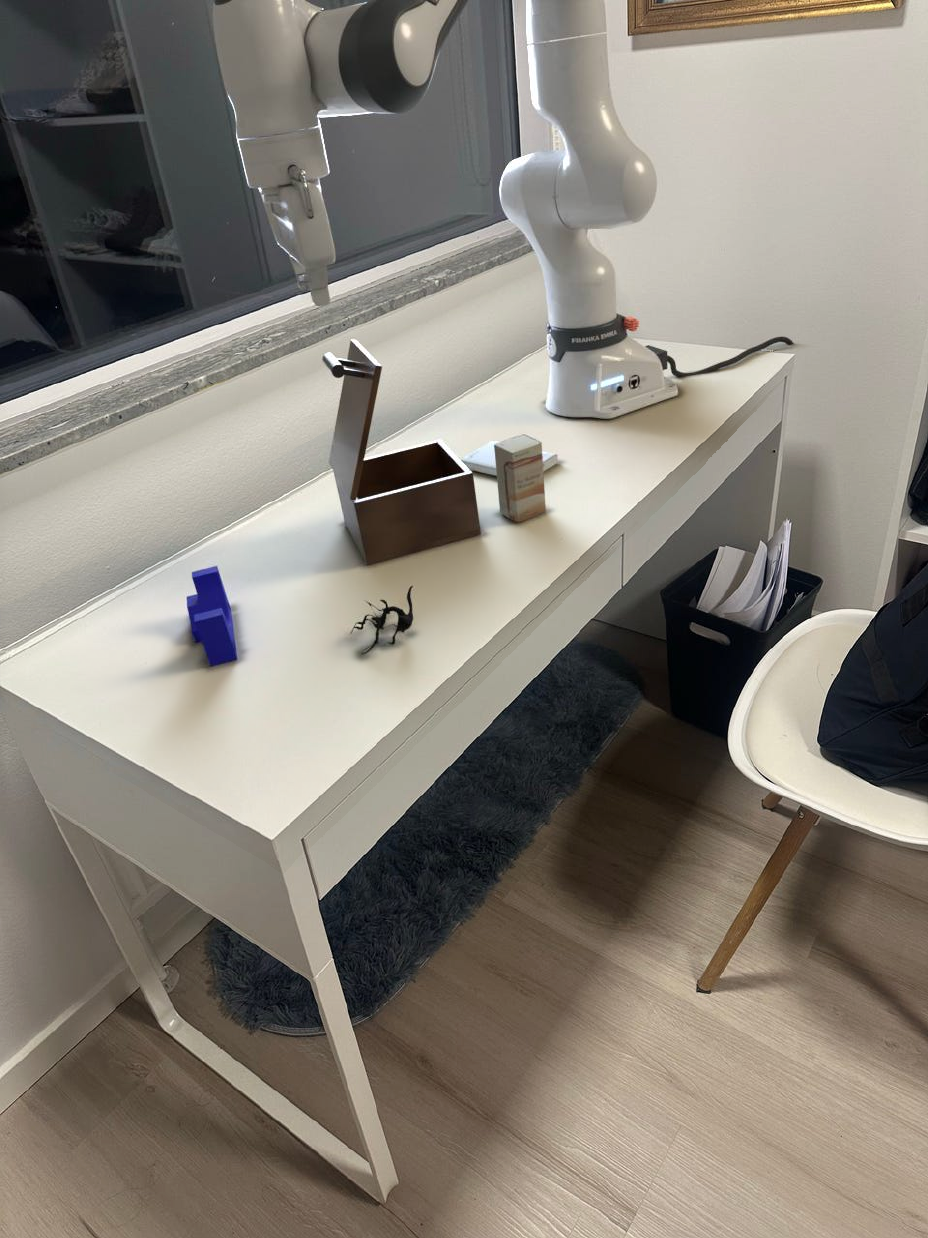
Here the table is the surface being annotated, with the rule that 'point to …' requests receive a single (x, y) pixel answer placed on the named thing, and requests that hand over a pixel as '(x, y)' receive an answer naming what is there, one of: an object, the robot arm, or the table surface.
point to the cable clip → (212, 617)
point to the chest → (411, 502)
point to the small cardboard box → (520, 477)
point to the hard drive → (486, 462)
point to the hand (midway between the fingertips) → (314, 296)
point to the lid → (353, 413)
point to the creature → (403, 619)
